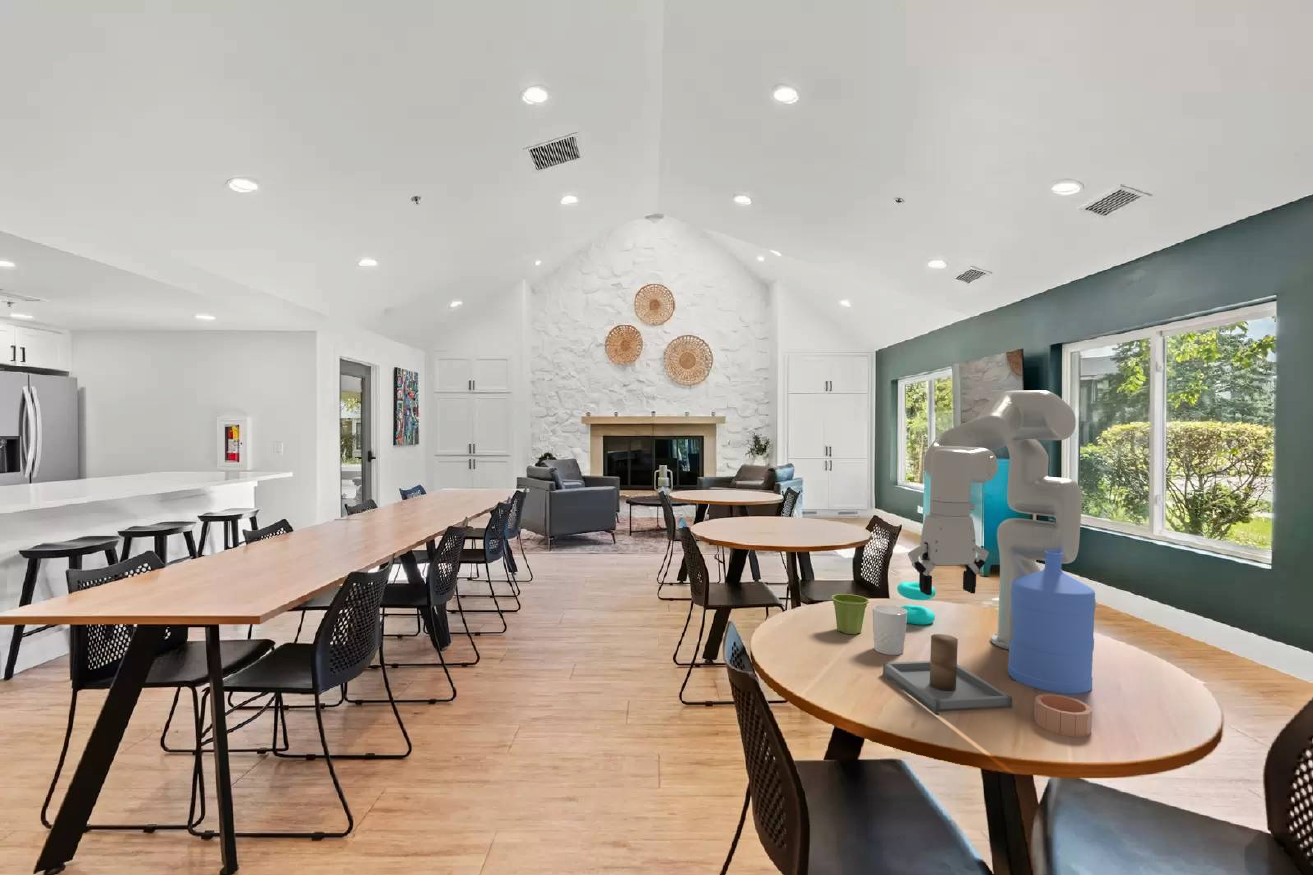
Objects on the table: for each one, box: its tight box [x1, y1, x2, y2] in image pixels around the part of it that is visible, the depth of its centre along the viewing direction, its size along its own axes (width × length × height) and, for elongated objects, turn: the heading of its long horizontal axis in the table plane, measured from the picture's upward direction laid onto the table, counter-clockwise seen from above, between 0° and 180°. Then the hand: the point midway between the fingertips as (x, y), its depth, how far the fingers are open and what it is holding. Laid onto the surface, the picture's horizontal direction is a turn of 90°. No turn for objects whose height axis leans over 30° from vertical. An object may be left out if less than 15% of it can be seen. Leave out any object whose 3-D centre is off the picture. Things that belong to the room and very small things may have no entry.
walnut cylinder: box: [929, 633, 959, 691], centre depth 137 cm, size 5×5×10 cm
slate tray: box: [882, 660, 1013, 715], centre depth 137 cm, size 16×20×2 cm
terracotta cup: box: [1033, 693, 1093, 738], centre depth 121 cm, size 9×9×4 cm
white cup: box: [872, 604, 908, 656], centre depth 161 cm, size 8×8×10 cm
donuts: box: [896, 581, 937, 626], centre depth 186 cm, size 10×10×10 cm
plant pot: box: [831, 593, 870, 635], centre depth 175 cm, size 9×9×9 cm
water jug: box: [1007, 551, 1097, 695], centre depth 143 cm, size 16×16×28 cm
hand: (947, 592), depth 137 cm, fingers open, 9 cm apart
